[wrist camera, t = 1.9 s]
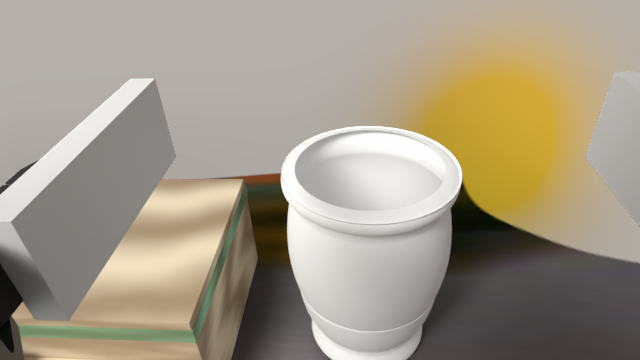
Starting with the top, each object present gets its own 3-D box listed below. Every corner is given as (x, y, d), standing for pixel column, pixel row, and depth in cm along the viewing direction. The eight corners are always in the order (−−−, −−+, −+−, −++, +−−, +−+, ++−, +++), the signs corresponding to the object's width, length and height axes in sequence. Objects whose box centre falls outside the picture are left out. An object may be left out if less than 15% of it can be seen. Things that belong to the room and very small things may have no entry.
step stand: (197, 492, 25) (156, 413, 20) (-28, 477, 27) (-120, 399, 22) (259, 257, 41) (245, 178, 36) (115, 254, 42) (81, 178, 37)
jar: (436, 284, 37) (459, 128, 29) (435, 401, 29) (467, 233, 20) (315, 268, 40) (303, 119, 31) (282, 373, 31) (253, 210, 23)
